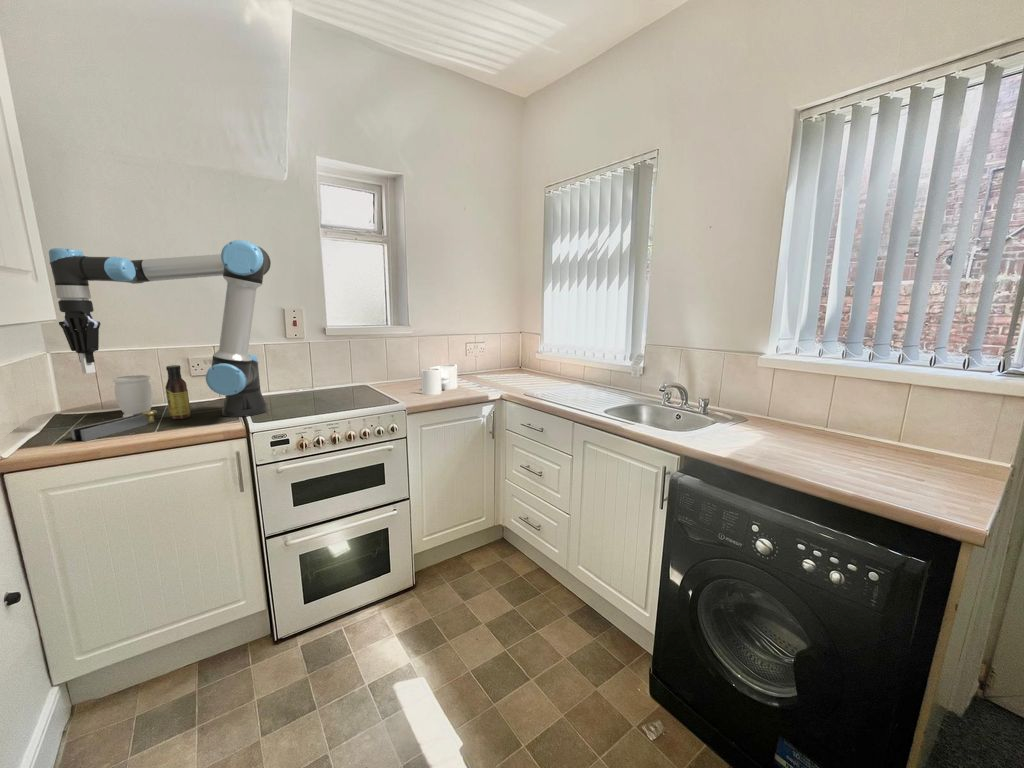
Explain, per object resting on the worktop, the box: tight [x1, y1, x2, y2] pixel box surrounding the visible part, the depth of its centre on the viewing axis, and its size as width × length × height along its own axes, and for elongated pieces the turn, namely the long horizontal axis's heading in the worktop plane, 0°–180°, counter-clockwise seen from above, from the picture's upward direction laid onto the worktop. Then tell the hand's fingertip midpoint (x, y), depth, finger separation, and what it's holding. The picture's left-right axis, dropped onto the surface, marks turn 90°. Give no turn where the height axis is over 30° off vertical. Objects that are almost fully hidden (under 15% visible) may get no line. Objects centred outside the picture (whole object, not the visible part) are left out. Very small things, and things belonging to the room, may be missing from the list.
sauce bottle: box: [165, 364, 192, 420], centre depth 154 cm, size 7×6×20 cm
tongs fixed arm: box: [80, 414, 155, 442], centre depth 139 cm, size 22×3×4 cm, turn 171°
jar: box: [112, 374, 154, 418], centre depth 156 cm, size 11×10×15 cm
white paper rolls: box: [420, 363, 459, 396], centre depth 210 cm, size 25×10×12 cm, turn 159°
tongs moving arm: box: [70, 409, 158, 441], centre depth 140 cm, size 24×4×4 cm, turn 166°
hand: (89, 372), depth 136 cm, fingers closed
